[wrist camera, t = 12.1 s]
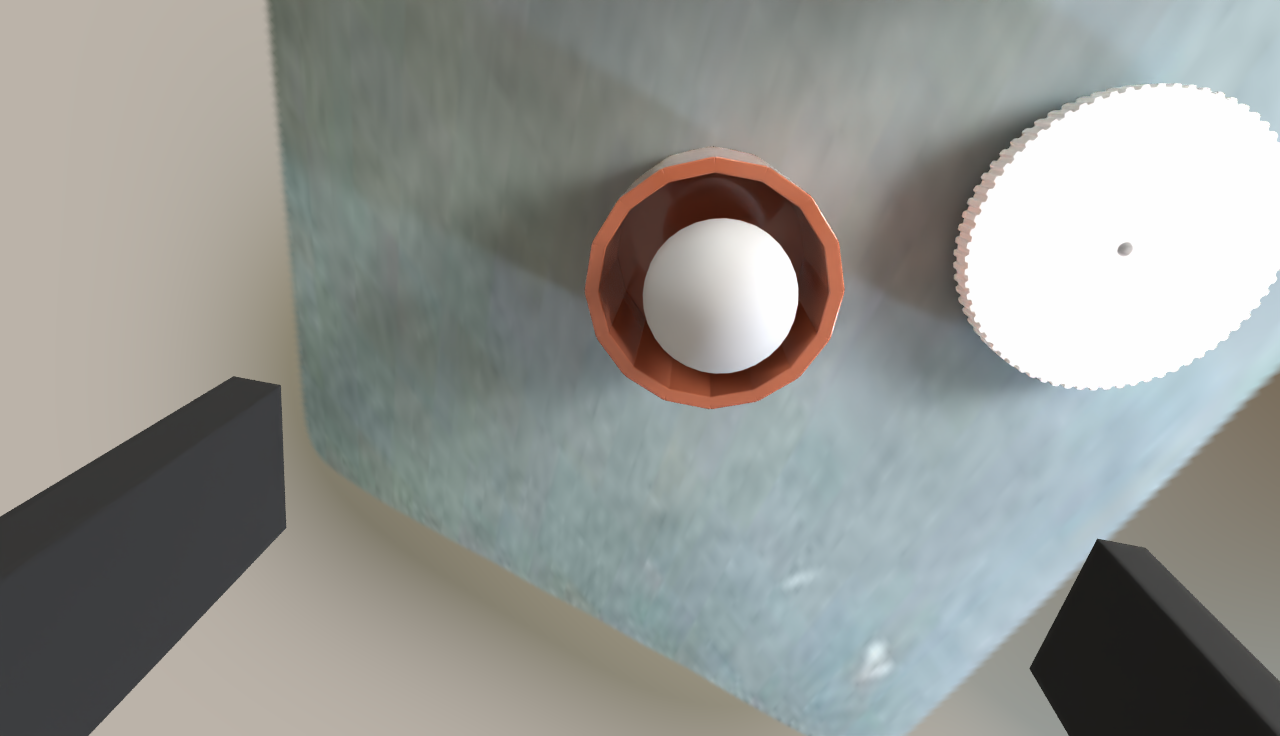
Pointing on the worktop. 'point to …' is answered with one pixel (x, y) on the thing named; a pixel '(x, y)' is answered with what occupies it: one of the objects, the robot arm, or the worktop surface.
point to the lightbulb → (720, 295)
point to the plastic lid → (1122, 235)
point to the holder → (683, 198)
